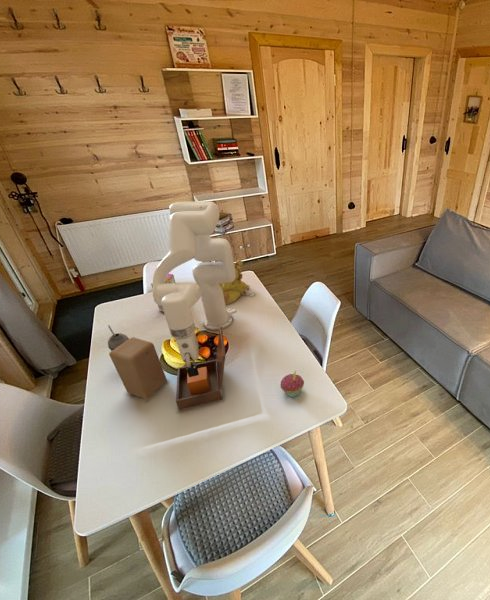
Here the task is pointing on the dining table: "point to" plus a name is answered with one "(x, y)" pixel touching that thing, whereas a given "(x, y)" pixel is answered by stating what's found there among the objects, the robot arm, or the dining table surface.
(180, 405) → the chest
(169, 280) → the candy bar box
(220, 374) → the lid
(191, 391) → the orange cube
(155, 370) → the wooden block
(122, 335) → the beverage cup
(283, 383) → the cupcake
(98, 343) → the dining table surface
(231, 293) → the giraffe plush
